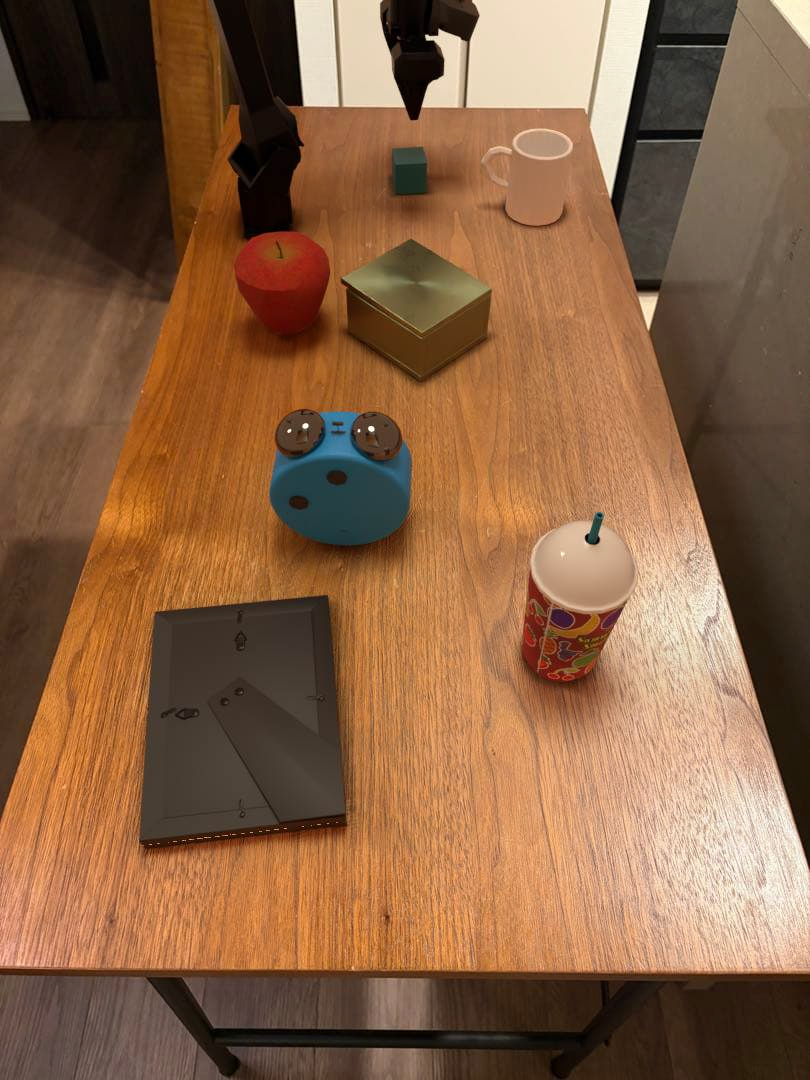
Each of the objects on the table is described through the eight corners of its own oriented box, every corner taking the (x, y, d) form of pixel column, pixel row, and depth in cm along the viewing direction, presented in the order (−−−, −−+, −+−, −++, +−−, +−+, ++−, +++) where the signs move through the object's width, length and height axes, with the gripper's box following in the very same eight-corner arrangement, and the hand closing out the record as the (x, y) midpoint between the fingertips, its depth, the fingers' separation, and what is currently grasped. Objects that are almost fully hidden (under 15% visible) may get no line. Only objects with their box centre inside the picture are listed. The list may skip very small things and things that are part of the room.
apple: (278, 368, 100) (266, 281, 90) (227, 324, 105) (210, 237, 95) (351, 329, 104) (347, 242, 95) (299, 289, 109) (289, 202, 100)
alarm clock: (411, 505, 87) (413, 397, 75) (408, 552, 83) (410, 447, 72) (284, 500, 87) (267, 391, 76) (276, 547, 84) (257, 441, 72)
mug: (478, 191, 124) (484, 124, 116) (561, 196, 123) (572, 129, 115) (476, 222, 119) (482, 154, 111) (562, 228, 118) (573, 160, 110)
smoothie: (579, 713, 73) (630, 581, 57) (494, 667, 76) (521, 529, 60) (618, 642, 77) (675, 501, 62) (536, 601, 80) (571, 456, 64)
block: (395, 194, 123) (395, 164, 119) (391, 178, 126) (391, 147, 122) (426, 193, 123) (427, 162, 120) (422, 176, 126) (423, 146, 123)
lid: (340, 283, 99) (340, 277, 98) (410, 243, 104) (411, 238, 103) (421, 338, 94) (422, 332, 93) (491, 293, 99) (492, 288, 98)
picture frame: (347, 825, 67) (329, 606, 80) (345, 813, 65) (327, 590, 77) (145, 849, 66) (159, 623, 78) (136, 837, 63) (152, 606, 76)
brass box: (348, 332, 104) (345, 288, 99) (414, 291, 109) (415, 248, 104) (420, 381, 99) (422, 338, 94) (487, 337, 104) (491, 294, 99)
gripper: (490, 1, 98) (479, 134, 110) (464, -58, 109) (457, 69, 121) (394, 4, 97) (394, 138, 109) (378, -55, 108) (380, 73, 121)
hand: (409, 103), depth 115 cm, fingers open, 9 cm apart
